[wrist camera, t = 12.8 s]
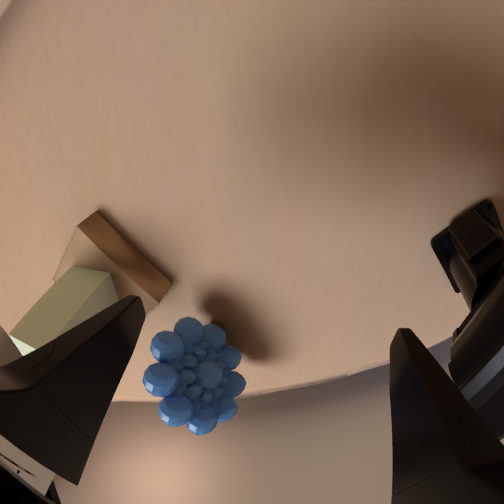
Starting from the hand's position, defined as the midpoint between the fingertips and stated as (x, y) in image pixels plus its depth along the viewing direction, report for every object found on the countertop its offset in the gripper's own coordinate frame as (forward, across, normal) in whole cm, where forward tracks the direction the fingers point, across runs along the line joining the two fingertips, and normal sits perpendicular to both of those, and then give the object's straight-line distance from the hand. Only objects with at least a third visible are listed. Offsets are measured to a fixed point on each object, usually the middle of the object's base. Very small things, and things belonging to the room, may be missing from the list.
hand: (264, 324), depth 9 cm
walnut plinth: (+13, +18, +10) cm, 24 cm away
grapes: (+13, +7, +16) cm, 22 cm away
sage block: (+10, +18, +10) cm, 23 cm away
